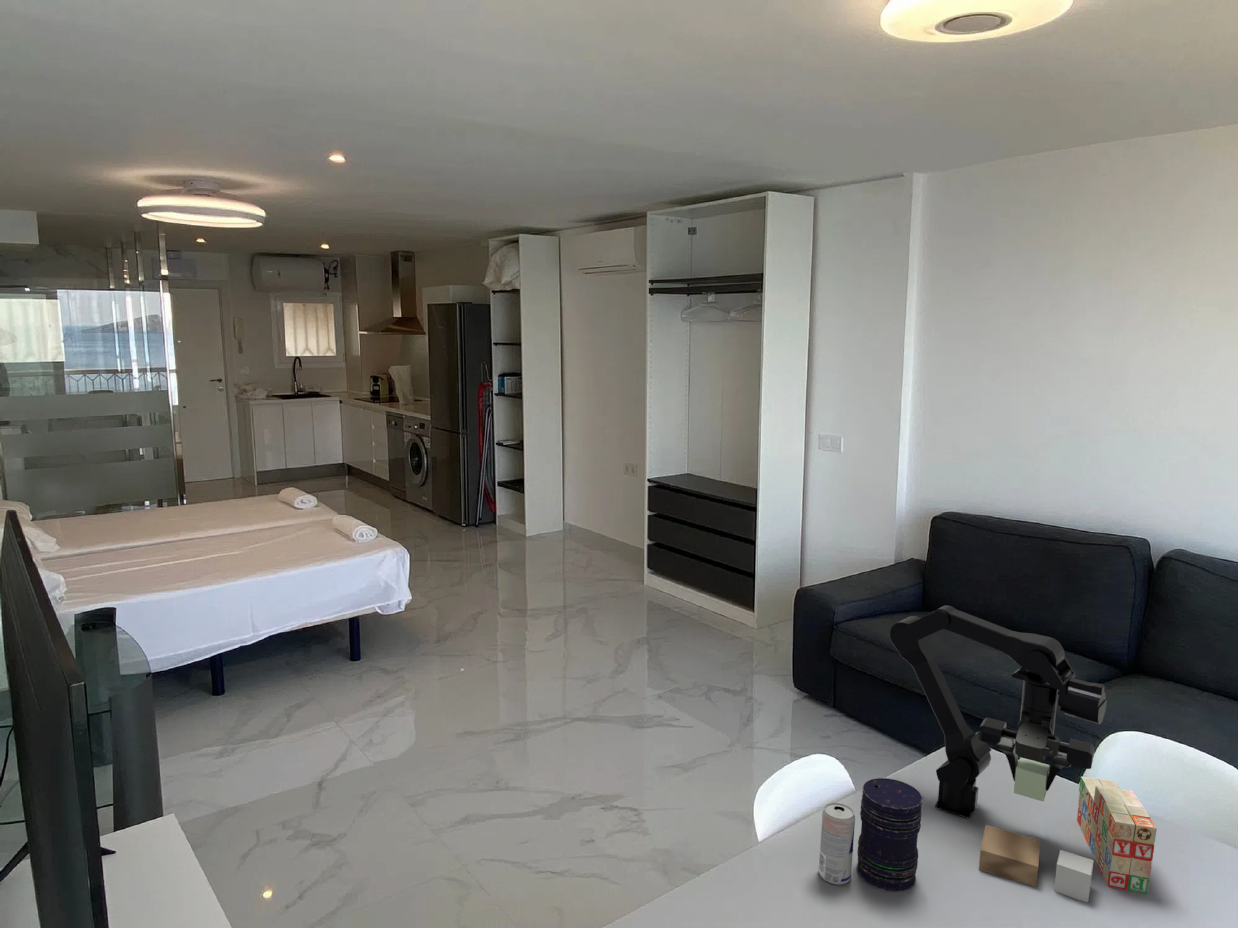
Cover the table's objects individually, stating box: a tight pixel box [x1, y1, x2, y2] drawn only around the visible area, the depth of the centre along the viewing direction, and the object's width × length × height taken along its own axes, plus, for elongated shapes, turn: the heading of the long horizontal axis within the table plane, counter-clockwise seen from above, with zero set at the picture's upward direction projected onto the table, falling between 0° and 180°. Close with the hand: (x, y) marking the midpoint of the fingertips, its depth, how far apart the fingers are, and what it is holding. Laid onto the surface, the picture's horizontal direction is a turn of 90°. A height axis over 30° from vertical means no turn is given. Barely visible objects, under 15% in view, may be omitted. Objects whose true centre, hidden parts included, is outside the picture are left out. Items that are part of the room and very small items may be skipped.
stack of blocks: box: [1076, 776, 1157, 895], centre depth 147 cm, size 21×6×12 cm, turn 164°
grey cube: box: [1053, 849, 1095, 903], centre depth 137 cm, size 5×5×5 cm
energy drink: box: [818, 802, 856, 886], centre depth 139 cm, size 5×5×12 cm
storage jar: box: [856, 777, 923, 893], centre depth 139 cm, size 10×10×15 cm
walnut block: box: [978, 824, 1041, 887], centre depth 144 cm, size 9×9×4 cm
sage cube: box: [1013, 756, 1051, 802], centre depth 152 cm, size 5×5×5 cm
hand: (1031, 784), depth 152 cm, fingers closed on sage cube, 5 cm apart
